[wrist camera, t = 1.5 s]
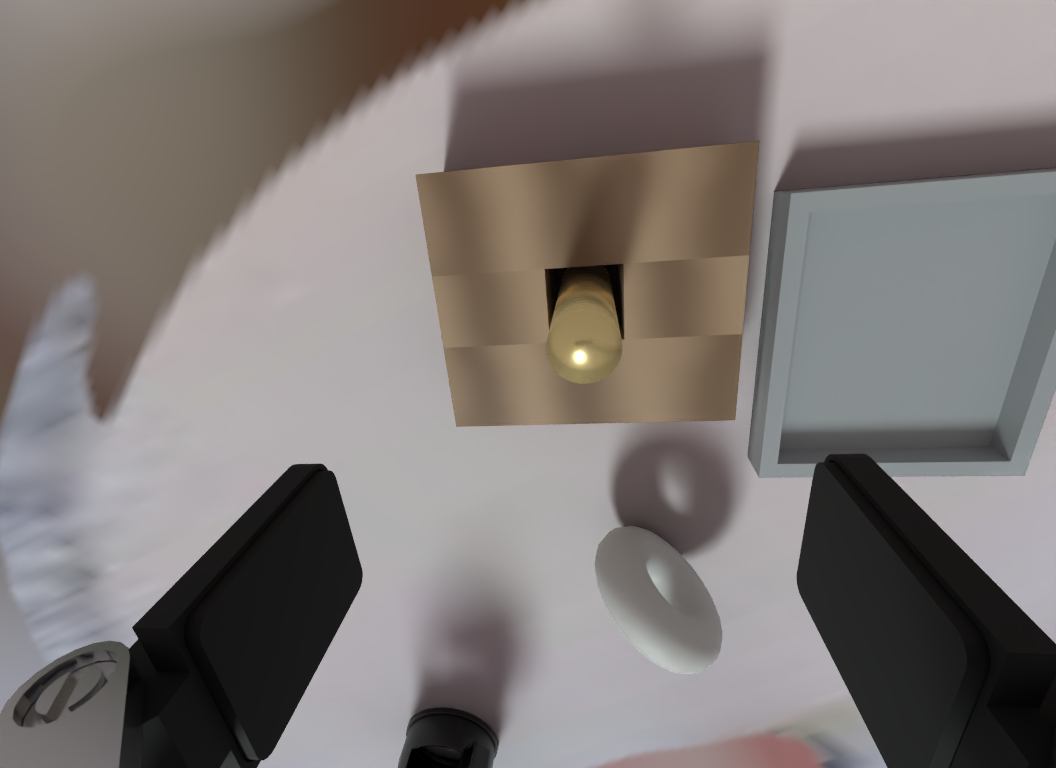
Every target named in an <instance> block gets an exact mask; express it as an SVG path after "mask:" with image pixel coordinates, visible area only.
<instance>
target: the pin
mask: <svg viewBox="0 0 1056 768" xmlns="http://www.w3.org/2000/svg"><path fill="white" fill-rule="evenodd" d="M546 354H547V358H548V361H549V363H550V365H551V367H552V368H553V369H554V371H555V372H556V373H557V374H558V375H560V376H561V377H562V378H564V379H566V380H568V381H571V382H574V383H579V384H589V383H594V382H597V381H600V380H602V379H604V378H606V377H607V376H608V375H610V374H611V373H612V372H613V371H614V370H615V368H616V367H617V365H618V363H619V361H620V359H621V355H622V340H621V334H620V329H619V324H618V318H617V313H616V308H615V302H614V297H613V292H612V286H611V281H610V277H609V274H608V272H607V270H606V269H605V268H604V267H603V266H602V265H597V266H582V267H569V268H568V269H567V270H566V272H565V273H564V276H563V279H562V282H561V286H560V290H559V294H558V298H557V302H556V306H555V310H554V314H553V318H552V322H551V326H550V329H549V333H548V337H547V341H546Z"/></svg>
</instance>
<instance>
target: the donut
mask: <svg viewBox="0 0 1056 768" xmlns="http://www.w3.org/2000/svg"><path fill="white" fill-rule="evenodd" d="M595 572H596V577H597V583H598V588H599V590H600V593H601V595H602V598H603V600H604V603H605V605H606V608H607V609H608V611H609V613H610V614H611V616H612V618H613V619H614V621H615V623H616V624H617V626H618V628H619V629H620V630H621V631H622V633H623V634H624V635H625V636H626V637H627V639H628V640H629V641H630V642H631V643H632V645H633V646H634V647H635V648H636V649H637V650H639V651H640V652H641V653H642V654H643V655H644V656H646V657H647V658H648V659H649V660H650V661H651V662H653V663H655V664H657V665H659V666H661V667H663V668H665V669H667V670H669V671H671V672H673V673H684V674H697V673H700V672H702V671H704V670H705V669H706V668H708V667H709V666H710V665H711V664H712V663H713V662H714V661H715V660H716V659H717V658H718V655H719V652H720V648H721V643H722V629H721V623H720V618H719V615H718V612H717V610H716V607H715V605H714V603H713V600H712V598H711V596H710V594H709V592H708V590H707V589H706V587H705V585H704V583H703V582H702V580H701V579H700V577H699V576H698V575H697V573H696V572H695V571H694V569H693V568H692V567H691V565H690V564H689V563H688V562H687V561H686V560H685V559H684V558H683V556H682V555H681V554H680V553H679V552H678V551H677V550H676V549H674V548H673V547H672V546H671V545H670V544H669V543H667V542H666V541H665V540H664V539H662V538H661V537H659V536H657V535H656V534H654V533H652V532H651V531H649V530H646V529H643V528H639V527H635V526H627V527H620V528H615V529H613V530H612V531H610V532H609V533H608V534H607V535H606V537H605V538H604V539H603V540H602V541H601V542H600V544H599V546H598V549H597V553H596V560H595Z"/></svg>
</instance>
